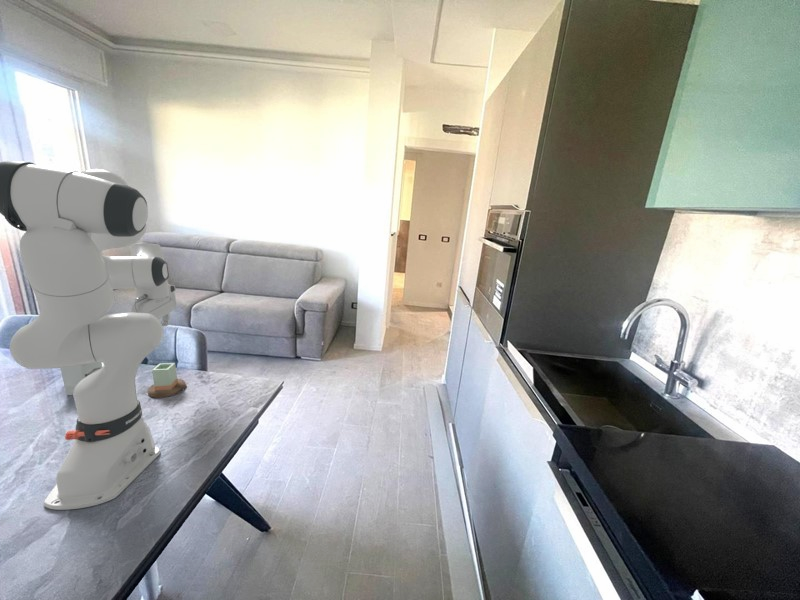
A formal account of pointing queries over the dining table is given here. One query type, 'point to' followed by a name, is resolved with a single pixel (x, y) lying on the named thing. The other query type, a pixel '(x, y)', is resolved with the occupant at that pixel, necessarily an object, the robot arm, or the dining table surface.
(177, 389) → the pin base
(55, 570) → the dining table surface
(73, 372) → the supplement box
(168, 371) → the sleeve
